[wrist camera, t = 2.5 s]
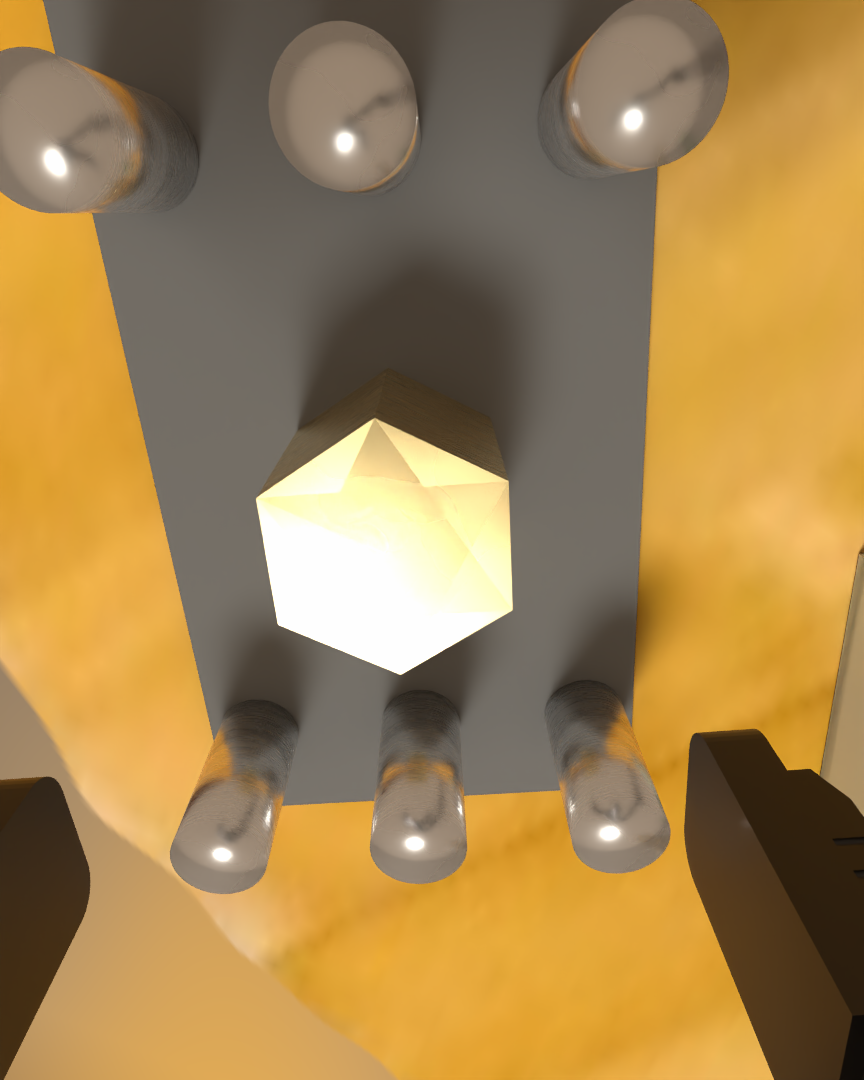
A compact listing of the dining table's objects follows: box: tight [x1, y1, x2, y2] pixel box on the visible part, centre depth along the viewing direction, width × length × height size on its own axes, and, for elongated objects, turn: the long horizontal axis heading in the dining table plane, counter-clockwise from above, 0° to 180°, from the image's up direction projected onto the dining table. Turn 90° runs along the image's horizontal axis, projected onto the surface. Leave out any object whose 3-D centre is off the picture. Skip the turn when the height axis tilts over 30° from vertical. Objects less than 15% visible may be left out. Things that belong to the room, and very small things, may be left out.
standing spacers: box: [0, 0, 729, 894], centre depth 18 cm, size 18×12×5 cm
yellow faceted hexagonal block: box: [256, 368, 513, 674], centre depth 18 cm, size 6×5×5 cm
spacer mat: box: [43, 0, 657, 806], centre depth 20 cm, size 22×13×1 cm, turn 4°
